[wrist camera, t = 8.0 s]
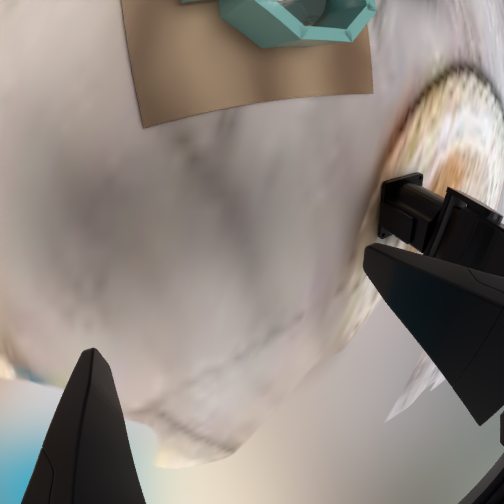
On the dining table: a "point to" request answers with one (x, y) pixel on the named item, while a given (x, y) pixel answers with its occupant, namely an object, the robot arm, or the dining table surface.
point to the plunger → (304, 9)
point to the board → (227, 62)
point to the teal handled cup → (296, 22)
